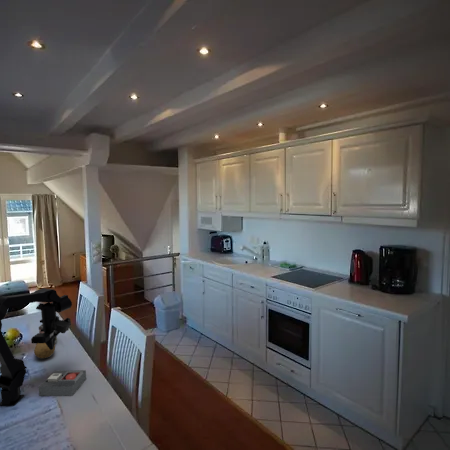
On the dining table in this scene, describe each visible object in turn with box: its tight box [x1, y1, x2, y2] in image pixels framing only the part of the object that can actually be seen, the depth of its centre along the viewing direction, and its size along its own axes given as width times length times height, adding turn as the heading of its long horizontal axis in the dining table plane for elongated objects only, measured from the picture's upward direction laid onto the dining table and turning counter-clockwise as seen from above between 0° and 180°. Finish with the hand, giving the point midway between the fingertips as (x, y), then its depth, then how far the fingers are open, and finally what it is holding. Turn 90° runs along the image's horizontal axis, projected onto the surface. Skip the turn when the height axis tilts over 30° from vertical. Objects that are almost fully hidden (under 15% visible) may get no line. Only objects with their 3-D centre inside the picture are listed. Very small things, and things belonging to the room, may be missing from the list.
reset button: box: [66, 373, 76, 380], centre depth 135 cm, size 4×4×5 cm
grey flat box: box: [37, 369, 87, 397], centre depth 136 cm, size 12×14×5 cm
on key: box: [47, 373, 62, 382], centre depth 136 cm, size 4×4×5 cm
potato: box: [33, 343, 56, 359], centre depth 163 cm, size 10×14×8 cm
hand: (51, 349), depth 144 cm, fingers closed
